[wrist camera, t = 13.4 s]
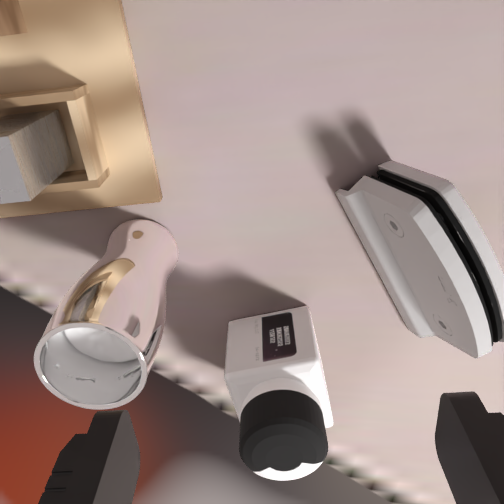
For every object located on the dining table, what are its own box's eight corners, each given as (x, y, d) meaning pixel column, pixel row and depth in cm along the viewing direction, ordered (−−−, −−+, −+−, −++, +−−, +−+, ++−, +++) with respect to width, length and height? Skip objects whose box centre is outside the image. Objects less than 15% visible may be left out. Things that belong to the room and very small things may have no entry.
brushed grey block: (5, 115, 34) (-59, 143, 27) (58, 109, 34) (8, 136, 27) (23, 168, 36) (-33, 207, 29) (74, 162, 36) (30, 200, 29)
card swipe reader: (332, 188, 38) (405, 214, 29) (378, 155, 38) (465, 170, 29) (409, 332, 45) (489, 390, 36) (448, 303, 45) (536, 353, 36)
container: (227, 319, 44) (218, 430, 33) (308, 303, 43) (328, 411, 32) (247, 380, 48) (245, 500, 36) (322, 366, 47) (345, 484, 35)
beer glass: (200, 247, 41) (174, 364, 27) (153, 298, 43) (108, 429, 30) (133, 197, 38) (69, 298, 25) (87, 254, 41) (7, 373, 28)
